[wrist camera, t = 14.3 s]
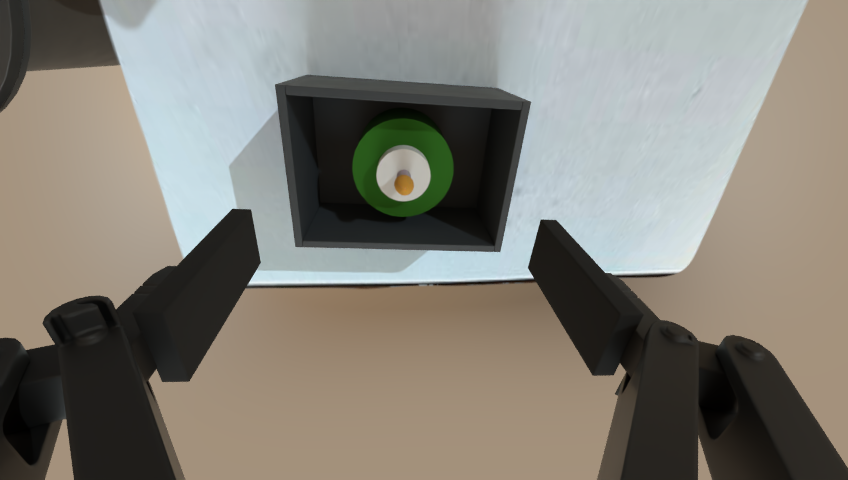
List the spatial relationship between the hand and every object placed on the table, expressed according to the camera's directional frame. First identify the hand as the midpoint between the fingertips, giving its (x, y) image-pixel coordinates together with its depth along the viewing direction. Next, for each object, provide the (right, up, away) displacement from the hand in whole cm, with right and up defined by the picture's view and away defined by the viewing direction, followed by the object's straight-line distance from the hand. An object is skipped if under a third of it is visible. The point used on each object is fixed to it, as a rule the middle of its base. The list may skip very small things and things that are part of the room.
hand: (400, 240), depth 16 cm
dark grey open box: (-1, +9, +18) cm, 20 cm away
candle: (-1, +8, +17) cm, 19 cm away
